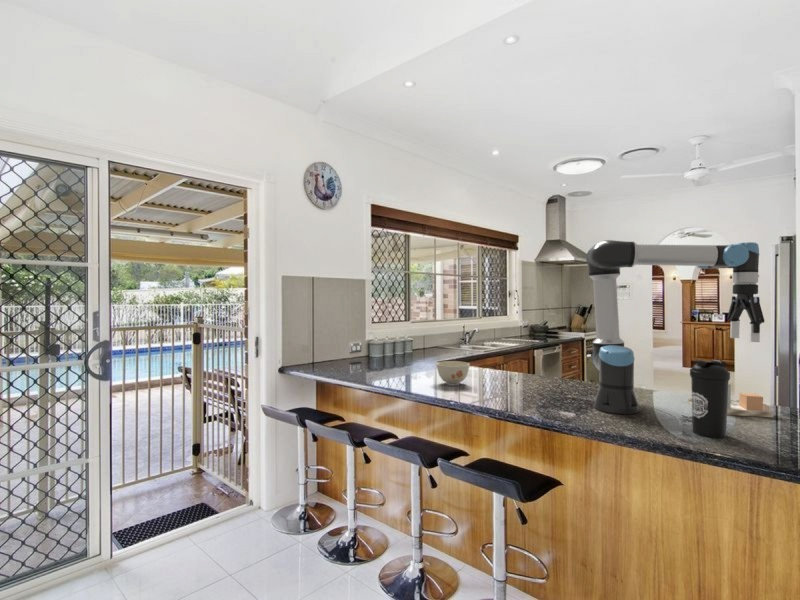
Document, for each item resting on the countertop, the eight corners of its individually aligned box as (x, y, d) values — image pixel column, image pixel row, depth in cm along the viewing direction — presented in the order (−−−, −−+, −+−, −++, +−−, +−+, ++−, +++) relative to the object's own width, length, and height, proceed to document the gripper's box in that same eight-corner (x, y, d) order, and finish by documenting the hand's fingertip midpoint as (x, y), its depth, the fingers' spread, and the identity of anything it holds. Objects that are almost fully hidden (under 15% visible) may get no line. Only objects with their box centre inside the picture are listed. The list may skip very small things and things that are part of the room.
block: (746, 409, 153) (746, 395, 153) (739, 406, 158) (739, 392, 158) (762, 410, 152) (763, 396, 152) (755, 407, 157) (755, 393, 157)
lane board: (705, 413, 155) (705, 408, 155) (687, 402, 171) (687, 398, 170) (773, 417, 150) (773, 412, 150) (748, 405, 165) (748, 401, 165)
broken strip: (709, 406, 162) (709, 403, 162) (702, 402, 168) (702, 399, 168) (759, 409, 159) (759, 406, 158) (750, 404, 164) (750, 402, 164)
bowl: (435, 387, 200) (435, 366, 199) (437, 380, 215) (437, 360, 215) (469, 388, 197) (469, 366, 197) (469, 381, 213) (469, 361, 212)
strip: (719, 411, 155) (720, 384, 155) (712, 407, 161) (712, 380, 160) (772, 414, 151) (772, 386, 151) (762, 409, 157) (762, 382, 156)
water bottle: (681, 429, 138) (682, 358, 137) (711, 428, 139) (711, 357, 138) (706, 439, 128) (707, 363, 127) (738, 438, 128) (739, 363, 128)
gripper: (777, 283, 147) (776, 344, 148) (739, 284, 172) (738, 336, 172) (752, 283, 149) (751, 343, 150) (717, 284, 173) (716, 336, 174)
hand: (744, 340), depth 161 cm, fingers open, 13 cm apart
